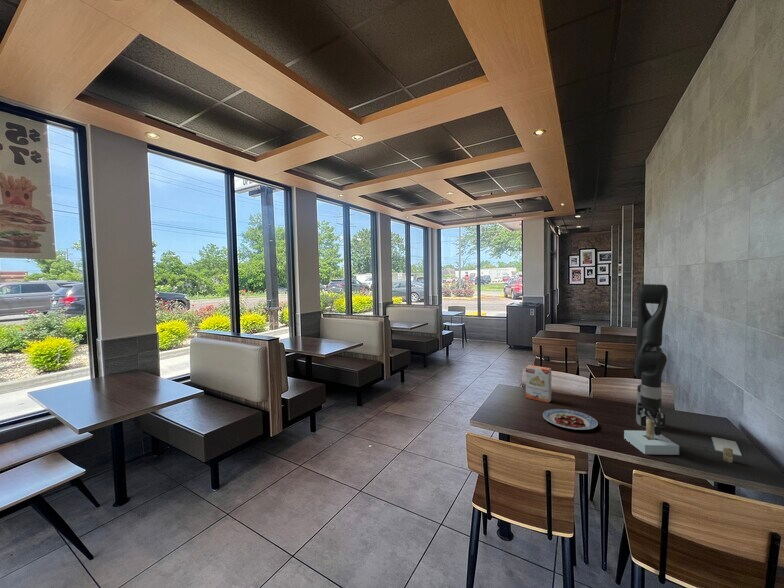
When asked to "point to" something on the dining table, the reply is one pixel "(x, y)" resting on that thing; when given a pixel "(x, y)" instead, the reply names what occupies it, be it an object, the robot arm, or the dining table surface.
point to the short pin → (728, 455)
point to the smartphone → (726, 445)
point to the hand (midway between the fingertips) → (650, 430)
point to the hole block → (651, 443)
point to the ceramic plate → (570, 419)
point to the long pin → (649, 429)
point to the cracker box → (538, 383)
